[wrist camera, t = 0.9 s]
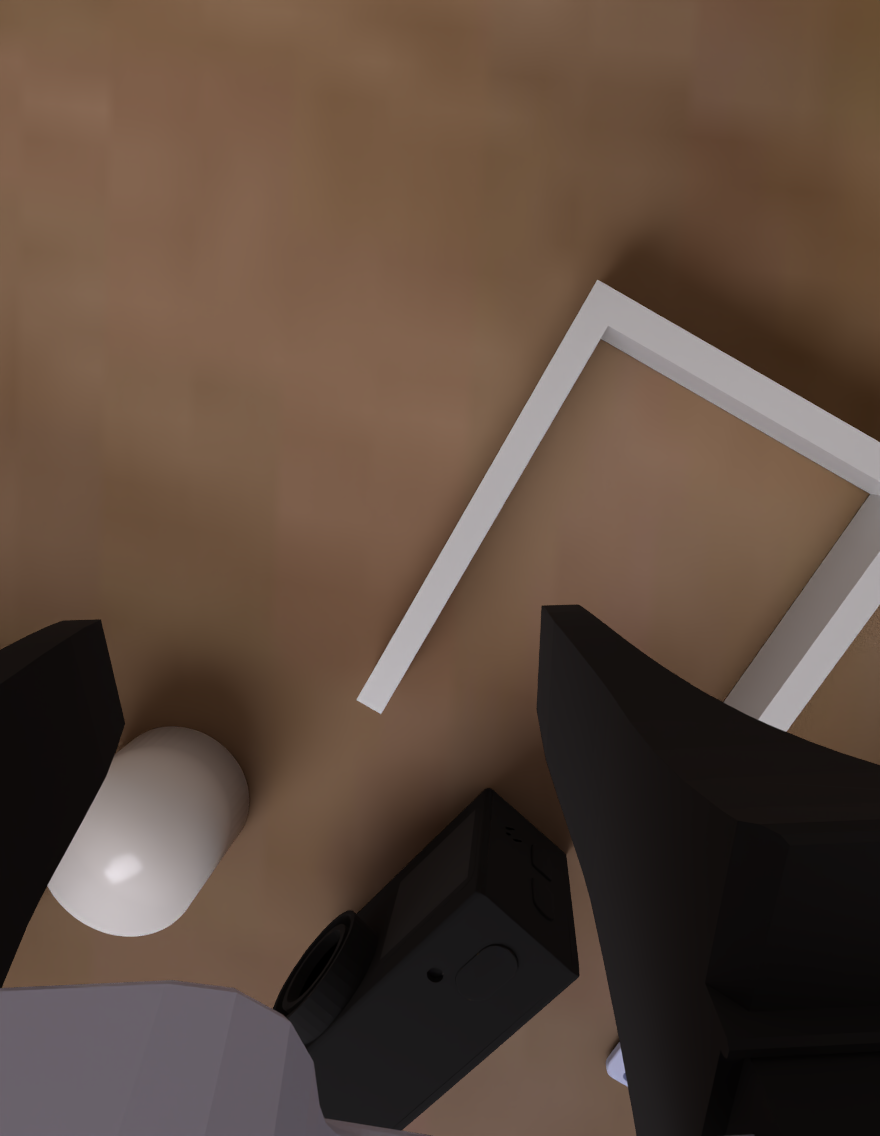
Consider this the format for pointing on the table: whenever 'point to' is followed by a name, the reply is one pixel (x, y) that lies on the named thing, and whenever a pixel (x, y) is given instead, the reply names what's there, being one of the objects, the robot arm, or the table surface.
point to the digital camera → (435, 968)
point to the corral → (876, 533)
